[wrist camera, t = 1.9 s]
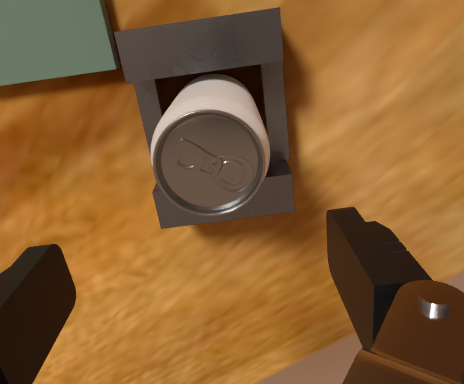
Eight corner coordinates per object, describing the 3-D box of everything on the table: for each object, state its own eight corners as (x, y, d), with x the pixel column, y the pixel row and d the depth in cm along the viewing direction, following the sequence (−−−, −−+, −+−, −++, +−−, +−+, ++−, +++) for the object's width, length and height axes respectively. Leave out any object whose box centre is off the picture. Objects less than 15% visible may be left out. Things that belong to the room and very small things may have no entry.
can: (236, 165, 31) (242, 240, 20) (163, 135, 30) (126, 197, 19) (270, 93, 29) (297, 132, 18) (192, 57, 28) (169, 77, 17)
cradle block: (274, 10, 27) (284, 6, 22) (288, 185, 32) (299, 211, 27) (128, 32, 27) (108, 32, 22) (166, 200, 32) (157, 229, 28)
